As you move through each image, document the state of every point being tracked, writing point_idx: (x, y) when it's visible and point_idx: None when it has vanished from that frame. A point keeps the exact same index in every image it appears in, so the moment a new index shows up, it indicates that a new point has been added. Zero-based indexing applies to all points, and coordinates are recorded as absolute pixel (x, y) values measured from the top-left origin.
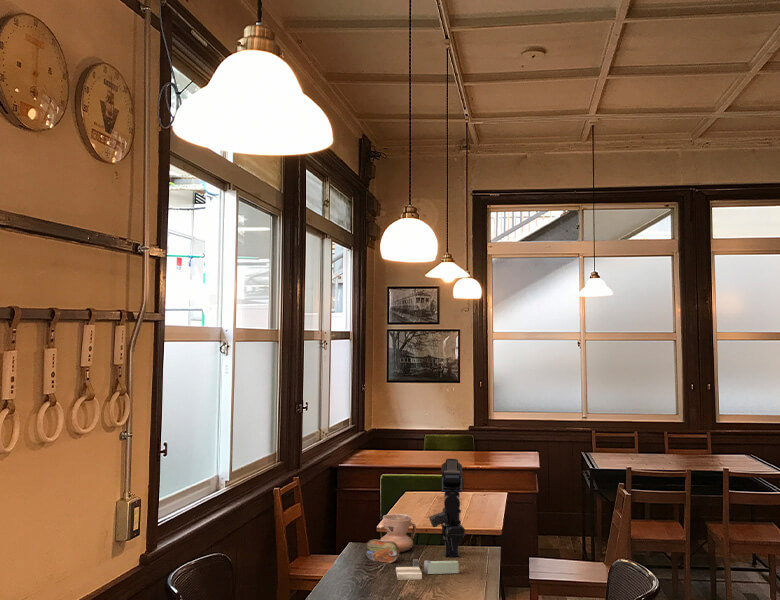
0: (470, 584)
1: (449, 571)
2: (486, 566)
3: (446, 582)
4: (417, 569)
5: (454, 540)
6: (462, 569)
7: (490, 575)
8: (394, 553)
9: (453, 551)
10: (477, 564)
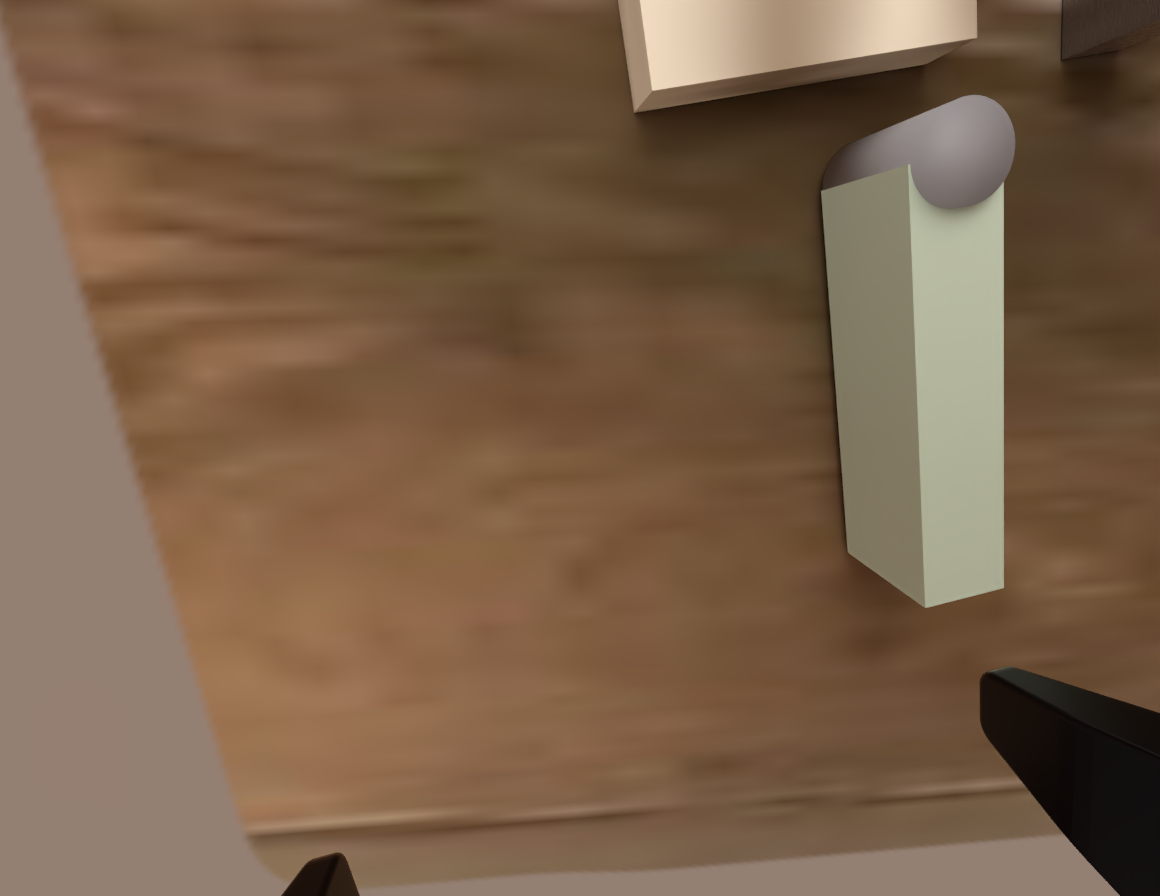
0: (510, 685)
1: (852, 462)
2: None
3: (545, 434)
4: (848, 15)
5: None
6: None
7: (800, 832)
8: None
9: (304, 878)
10: None
